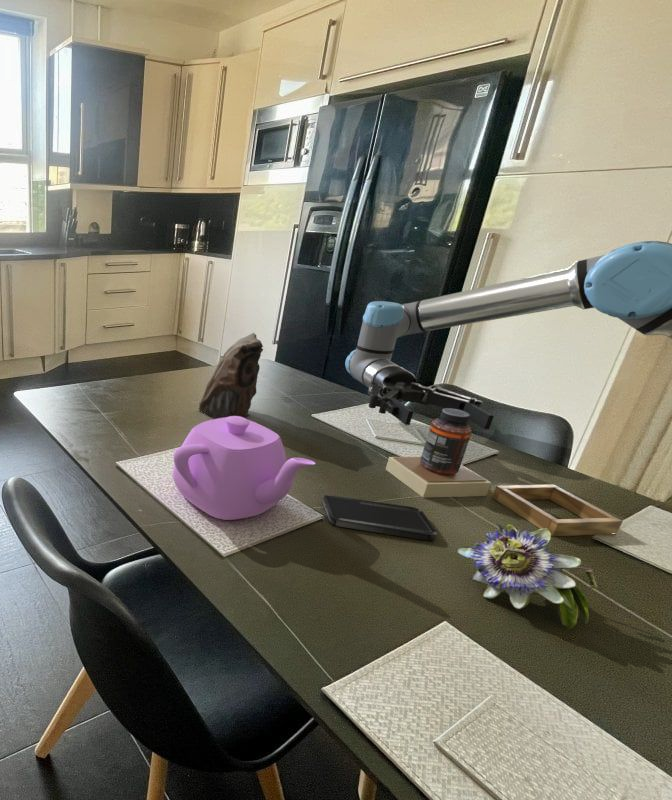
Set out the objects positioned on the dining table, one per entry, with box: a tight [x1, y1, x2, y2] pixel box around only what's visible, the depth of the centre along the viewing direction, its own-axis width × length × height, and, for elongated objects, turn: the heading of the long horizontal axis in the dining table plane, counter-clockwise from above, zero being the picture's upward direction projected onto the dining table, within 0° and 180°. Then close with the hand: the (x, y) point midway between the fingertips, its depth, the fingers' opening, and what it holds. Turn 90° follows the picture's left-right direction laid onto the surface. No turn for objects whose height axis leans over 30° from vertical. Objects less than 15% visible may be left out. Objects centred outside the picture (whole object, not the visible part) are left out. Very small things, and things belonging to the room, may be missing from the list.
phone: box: [321, 494, 438, 542], centre depth 79 cm, size 8×1×15 cm
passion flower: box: [456, 522, 598, 629], centre depth 63 cm, size 11×11×12 cm
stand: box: [385, 456, 492, 499], centre depth 90 cm, size 12×10×3 cm
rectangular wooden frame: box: [491, 483, 623, 537], centre depth 81 cm, size 11×11×2 cm
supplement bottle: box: [420, 408, 473, 475], centre depth 88 cm, size 6×6×11 cm
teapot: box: [172, 416, 316, 521], centre depth 79 cm, size 23×21×15 cm
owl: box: [198, 332, 264, 419], centre depth 115 cm, size 13×13×20 cm
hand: (449, 420), depth 88 cm, fingers open, 13 cm apart
